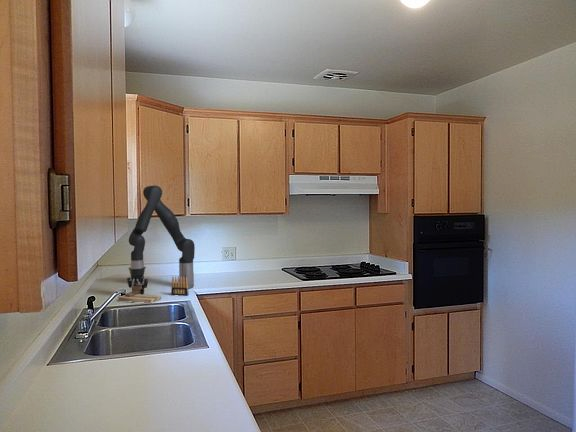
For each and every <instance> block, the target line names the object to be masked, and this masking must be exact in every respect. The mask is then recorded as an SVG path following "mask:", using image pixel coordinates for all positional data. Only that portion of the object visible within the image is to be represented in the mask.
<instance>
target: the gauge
mask: <svg viewBox="0 0 576 432" xmlns="http://www.w3.org/2000/svg"><path fill="white" fill-rule="evenodd" d="M135 294H140V286H139V285H138V284H136V285H134V286H132V288H131V291H130V292H127V293H125V294H124V295H125V296H132V295H135ZM143 295H145V293H144V294H143Z"/></svg>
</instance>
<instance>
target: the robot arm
mask: <svg viewBox="0 0 576 432" xmlns="http://www.w3.org/2000/svg"><path fill="white" fill-rule="evenodd" d="M142 193H143V197H144V199H145V200H146V201H147V202H146V205H145V206H144V208H143V209H142V211H141V212H140V213H139V216H138V218H137V220H136V223H135V226H134V228H133V230H132V231H131V232H130V235H129V237H128V243H129V245H131V247H133V250H132V251H131V252H130V267H131V275H132V276H131V275H130V277H127V278H126V280H127V285H128V288H129V289H132V286H134V285H137V284H138V285H139V286H140V294H144V295H145V289H146V288H148V284H149V278H147V277H145V271H144V267H145V263H144V250H145V246H146V240H145V237H144V236H143V233H145V232H147V230H148V227H149V224H150V222H151V218H152V217H153V214H154V212H155V213H156V215H157V217H158V218H159V220H160V222H161V223H162V224H163V226H164V228H165V229H166V231H167V233H168V234H169V235H170V236H171V239H172V240H173V242H174V245H175V247H176V248H177V250H178V251H179V252H181V257H179V260H178V264H179V265H178V268H179V271H178V273H179V275H178V276H179V281H180V278H181V277H182V283H183V277H184V278H185V280H186V277H187V281H188V290H190V289H193V288H194V287H195V282H194V281H195V274H194V259H195V249H196V247H195V243H194V240H192V239H190V238H186V237H185V236H184V235H183V233H182V231H181V229H180V223H179V221H178V218H177V217H176V215H175V214H174V213H173V211H172V210H171V209H170V208H169V207H168V206H167V205H165V204H164V203H163V201H162V200H161V198H162V195H163V189H162V188H161V187H160V186H158V185H147V186H145V187H144V189H143V190H142ZM132 281H133V282H132Z"/></svg>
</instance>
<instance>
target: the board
mask: <svg viewBox="0 0 576 432" xmlns="http://www.w3.org/2000/svg"><path fill="white" fill-rule="evenodd" d="M117 299H118V300H117V301H118V302H119V301H132V302H144V303H152V304H154V303H153V302H155V301H157V300H159V301H161V300H162V295H158V294H157V295H154V294H144V295H143V294H135V295H132V296H125V294H124V295H122V296H118V297H117ZM160 299H161V300H160ZM157 302H158V301H157ZM144 303H143V304H144ZM155 303H156V302H155Z"/></svg>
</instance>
